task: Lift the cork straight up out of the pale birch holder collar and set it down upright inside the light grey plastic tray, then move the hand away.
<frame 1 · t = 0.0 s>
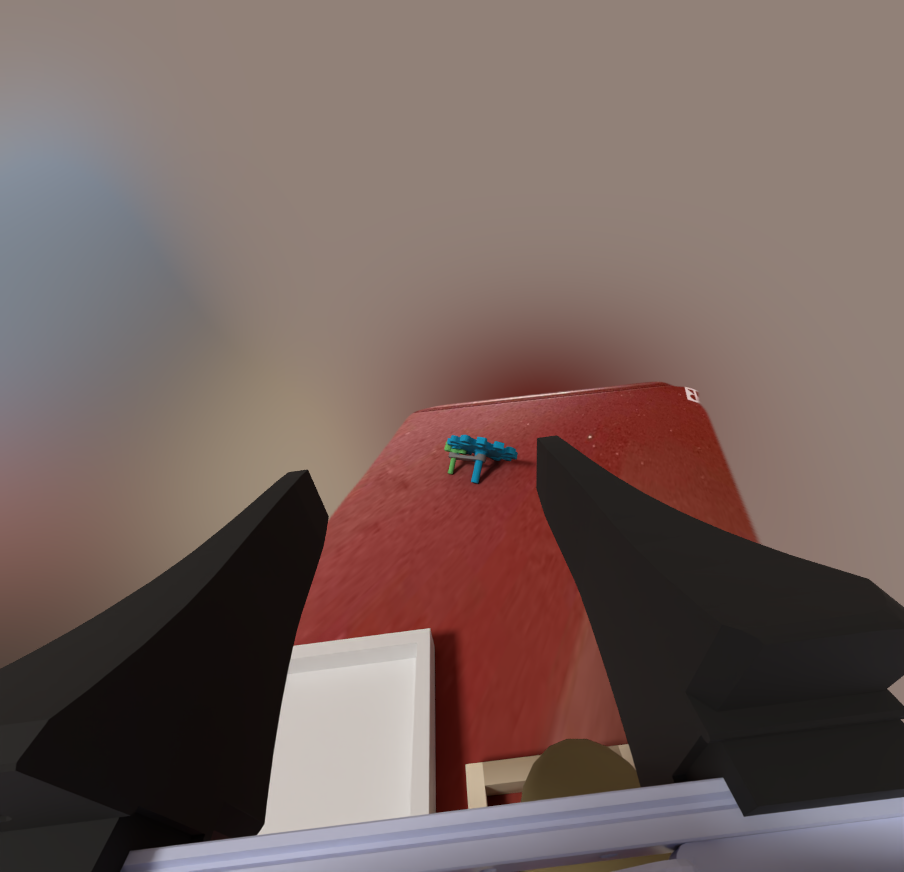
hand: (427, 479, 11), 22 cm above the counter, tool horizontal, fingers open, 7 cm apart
tray: (326, 771, 22), on the counter
gear: (480, 471, 50), on the counter
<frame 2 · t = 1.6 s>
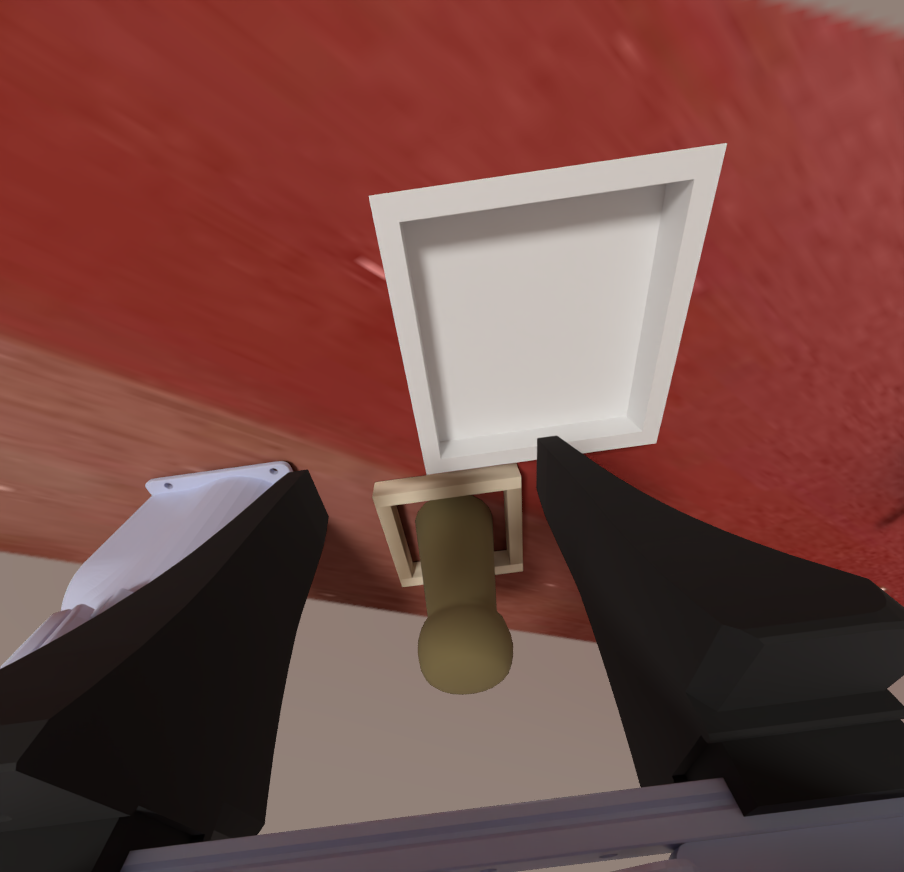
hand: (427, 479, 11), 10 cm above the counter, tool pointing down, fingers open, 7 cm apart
tray: (530, 332, 19), on the counter
holder collar: (453, 522, 27), on the counter
cork: (453, 520, 27), resting in holder collar
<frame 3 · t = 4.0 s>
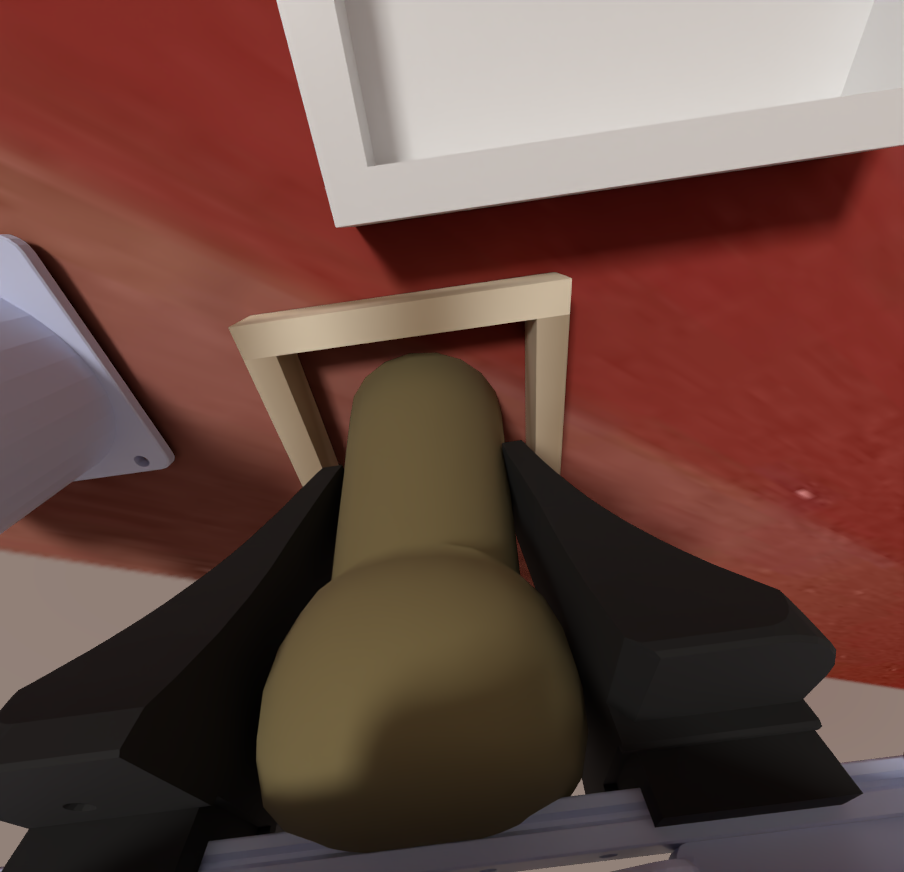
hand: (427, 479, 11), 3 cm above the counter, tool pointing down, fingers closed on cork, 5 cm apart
holder collar: (427, 425, 14), on the counter
cork: (427, 422, 14), resting in holder collar, touching gripper
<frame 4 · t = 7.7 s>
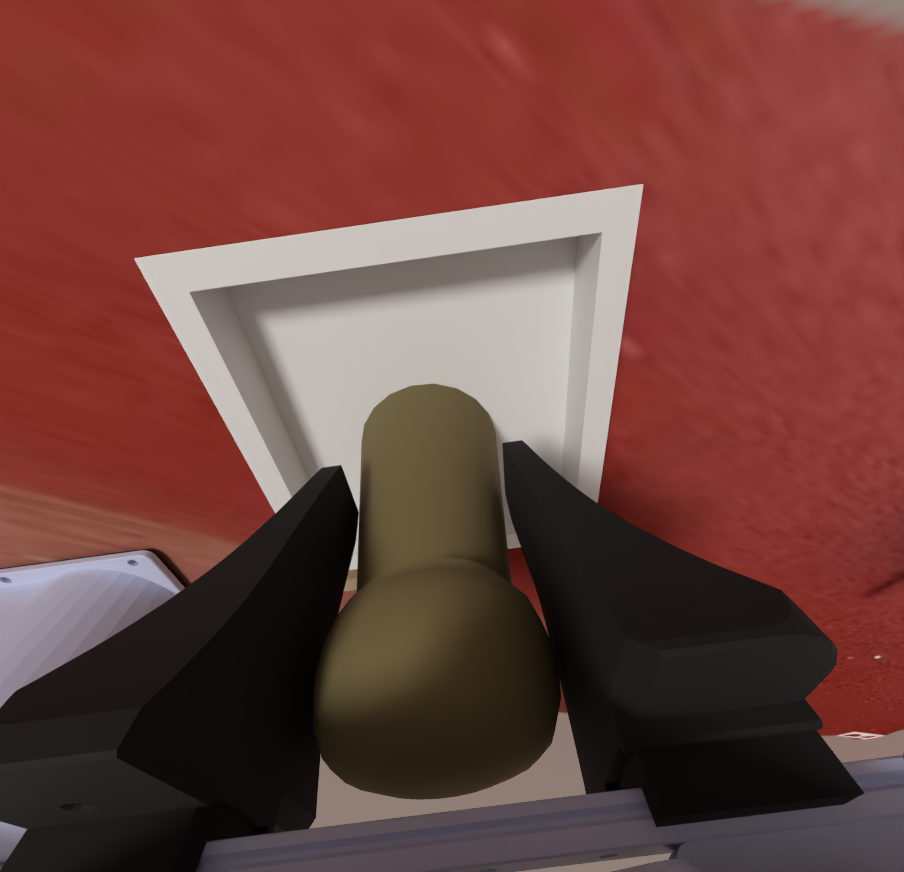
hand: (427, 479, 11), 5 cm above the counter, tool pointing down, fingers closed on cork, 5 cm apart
tray: (427, 407, 15), on the counter
cork: (429, 443, 16), resting on tray, touching gripper
when the fingers open (5 cm above the counter, at t = 8.2 s): cork stays where it is, resting on tray.
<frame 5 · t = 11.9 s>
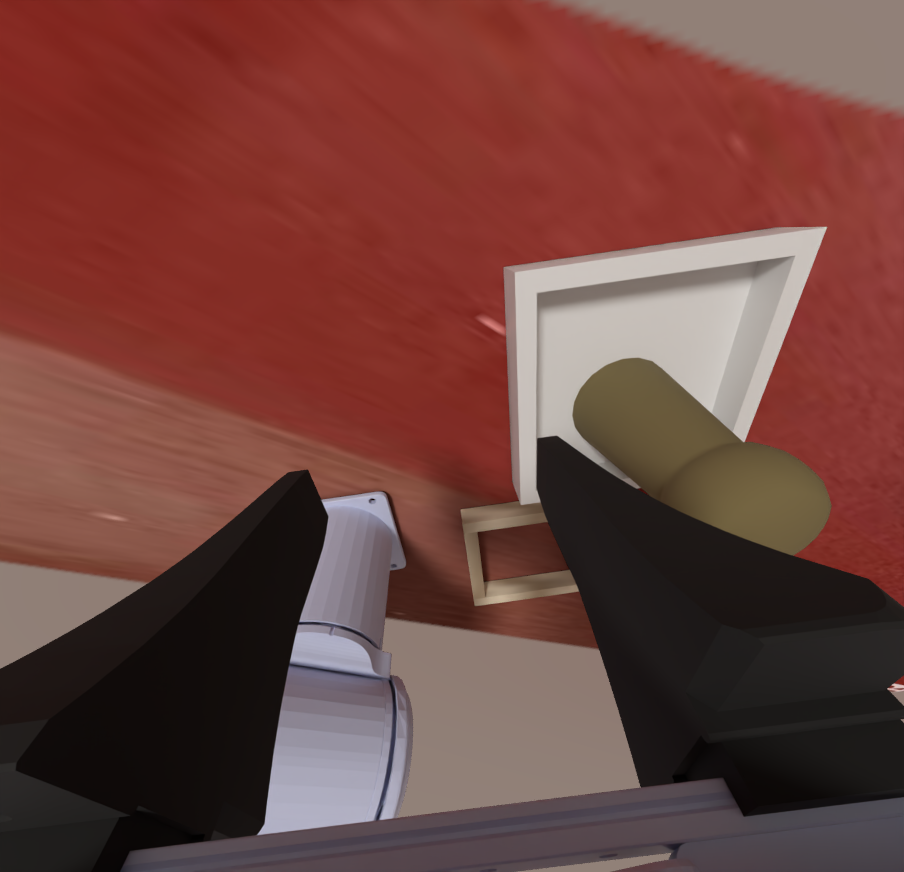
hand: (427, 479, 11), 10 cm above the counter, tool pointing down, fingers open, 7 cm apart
tray: (621, 376, 21), on the counter
holder collar: (526, 545, 28), on the counter
cork: (618, 403, 21), resting on tray
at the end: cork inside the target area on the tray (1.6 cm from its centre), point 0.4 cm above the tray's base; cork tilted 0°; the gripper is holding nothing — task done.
